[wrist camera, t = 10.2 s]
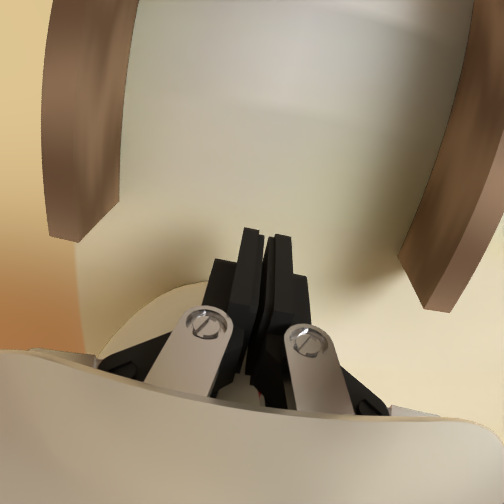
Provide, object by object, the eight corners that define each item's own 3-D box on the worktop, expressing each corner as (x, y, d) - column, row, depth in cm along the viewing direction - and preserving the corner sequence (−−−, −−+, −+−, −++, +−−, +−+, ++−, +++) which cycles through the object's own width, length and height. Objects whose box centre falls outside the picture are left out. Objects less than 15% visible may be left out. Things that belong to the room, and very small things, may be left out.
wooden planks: (151, -132, 5) (120, -167, 2) (502, -48, 6) (549, -60, 2) (93, 196, 15) (49, 235, 11) (421, 262, 15) (449, 312, 12)
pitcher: (229, 419, 25) (208, 572, 13) (72, 254, 17) (-63, 456, 5) (359, 389, 21) (377, 569, 10) (235, 159, 13) (94, 569, 2)
